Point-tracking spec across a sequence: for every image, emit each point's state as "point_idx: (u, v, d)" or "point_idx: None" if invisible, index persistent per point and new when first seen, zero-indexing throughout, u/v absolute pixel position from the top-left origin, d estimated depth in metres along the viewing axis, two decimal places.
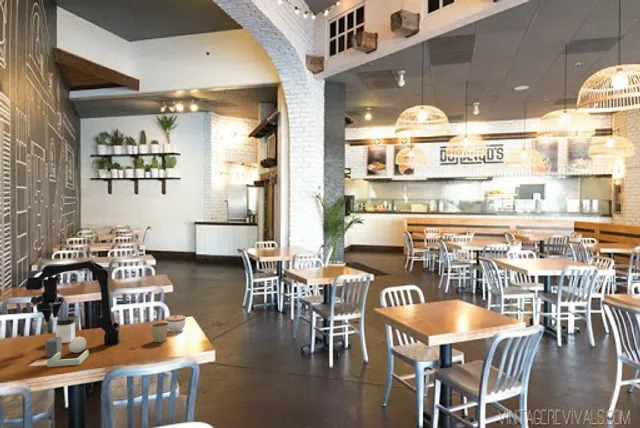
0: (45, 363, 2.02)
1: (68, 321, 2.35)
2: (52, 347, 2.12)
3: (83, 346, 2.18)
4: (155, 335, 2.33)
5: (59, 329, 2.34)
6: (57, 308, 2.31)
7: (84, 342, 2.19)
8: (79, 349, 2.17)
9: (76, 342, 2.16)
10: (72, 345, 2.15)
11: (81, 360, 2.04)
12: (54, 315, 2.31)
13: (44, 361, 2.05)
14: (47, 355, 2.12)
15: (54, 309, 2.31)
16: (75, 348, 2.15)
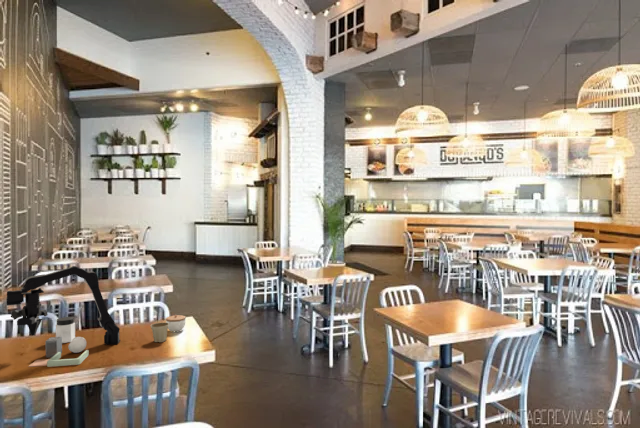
0: (45, 363, 2.02)
1: (68, 321, 2.35)
2: (52, 347, 2.12)
3: (83, 346, 2.18)
4: (155, 335, 2.33)
5: (59, 329, 2.34)
6: None
7: (84, 342, 2.19)
8: (79, 349, 2.17)
9: (76, 342, 2.16)
10: (72, 345, 2.15)
11: (81, 360, 2.04)
12: None
13: (44, 361, 2.05)
14: (47, 355, 2.12)
15: None
16: (75, 348, 2.15)
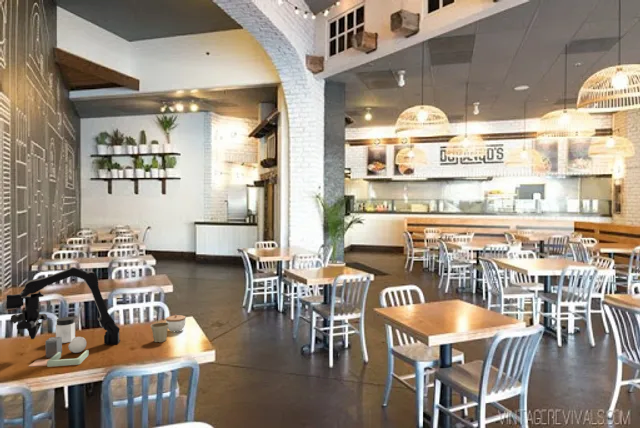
0: (45, 363, 2.02)
1: (68, 321, 2.35)
2: (52, 347, 2.12)
3: (83, 346, 2.18)
4: (155, 335, 2.33)
5: (59, 329, 2.34)
6: None
7: (84, 342, 2.19)
8: (79, 349, 2.17)
9: (76, 342, 2.16)
10: (72, 345, 2.15)
11: (81, 360, 2.04)
12: None
13: (44, 361, 2.05)
14: (47, 355, 2.12)
15: None
16: (75, 348, 2.15)
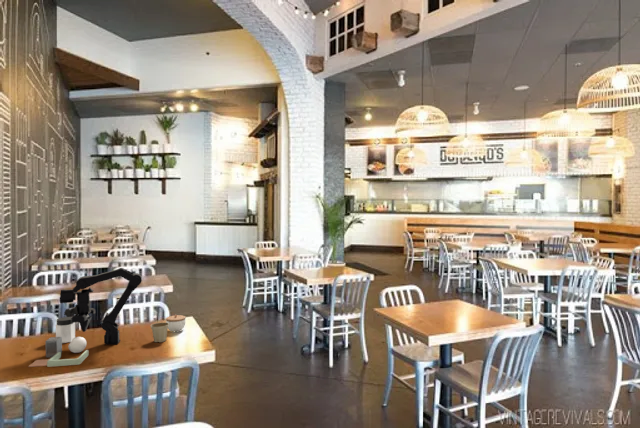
0: (45, 363, 2.02)
1: (68, 321, 2.35)
2: (52, 347, 2.12)
3: (83, 346, 2.18)
4: (155, 335, 2.33)
5: (59, 329, 2.34)
6: None
7: (84, 342, 2.19)
8: (79, 349, 2.17)
9: (76, 342, 2.16)
10: (72, 345, 2.15)
11: (81, 360, 2.04)
12: None
13: (44, 361, 2.05)
14: (47, 355, 2.12)
15: None
16: (75, 348, 2.15)
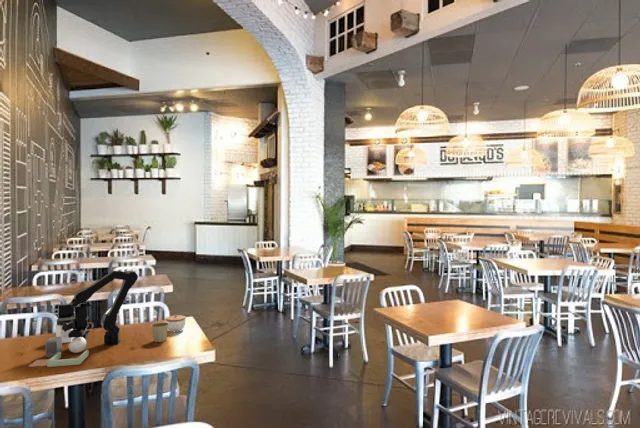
0: (45, 363, 2.02)
1: (68, 321, 2.35)
2: (52, 347, 2.12)
3: (83, 346, 2.18)
4: (155, 335, 2.33)
5: (59, 329, 2.34)
6: None
7: (84, 342, 2.18)
8: (79, 349, 2.16)
9: (76, 342, 2.16)
10: (72, 345, 2.15)
11: (81, 360, 2.04)
12: None
13: (44, 361, 2.05)
14: (47, 355, 2.12)
15: None
16: (75, 348, 2.15)
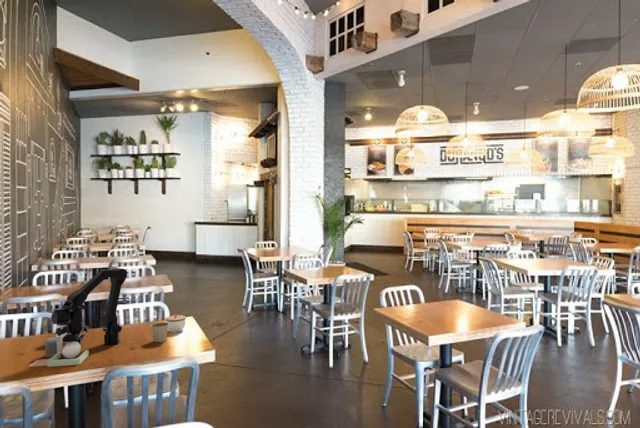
0: (45, 363, 2.02)
1: (68, 321, 2.35)
2: (52, 347, 2.12)
3: (77, 351, 2.10)
4: (155, 335, 2.33)
5: None
6: None
7: (78, 347, 2.11)
8: (73, 354, 2.09)
9: (70, 347, 2.08)
10: (66, 350, 2.07)
11: (81, 360, 2.04)
12: None
13: (44, 361, 2.05)
14: (47, 355, 2.12)
15: None
16: (69, 353, 2.07)
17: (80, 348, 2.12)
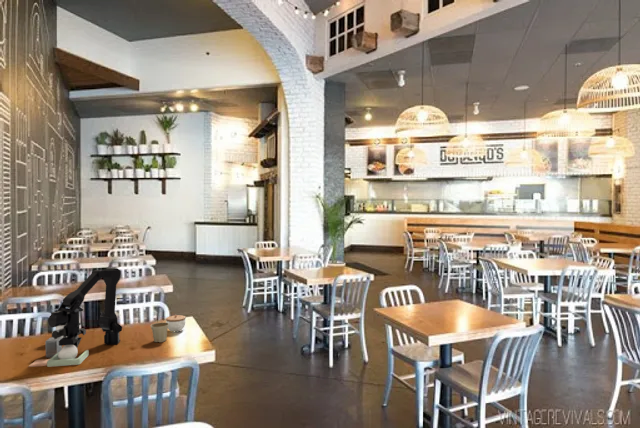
0: (45, 363, 2.02)
1: None
2: (52, 347, 2.12)
3: (74, 354, 2.05)
4: (155, 335, 2.33)
5: None
6: None
7: (75, 350, 2.06)
8: (70, 358, 2.04)
9: (66, 350, 2.03)
10: (62, 353, 2.03)
11: (81, 360, 2.04)
12: None
13: (44, 361, 2.05)
14: (47, 355, 2.12)
15: None
16: (65, 356, 2.03)
17: (77, 351, 2.07)
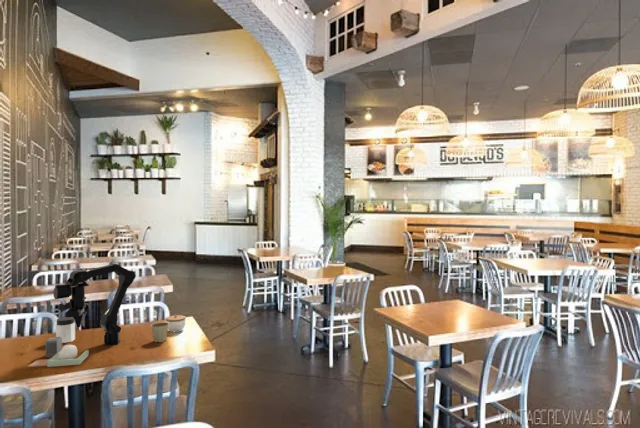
0: (45, 363, 2.02)
1: (68, 321, 2.35)
2: (52, 347, 2.12)
3: (74, 355, 2.05)
4: (155, 335, 2.33)
5: (59, 329, 2.34)
6: None
7: (75, 350, 2.06)
8: (69, 358, 2.04)
9: (66, 350, 2.03)
10: (62, 353, 2.03)
11: (81, 360, 2.04)
12: None
13: (44, 361, 2.05)
14: (47, 355, 2.12)
15: None
16: (65, 356, 2.03)
17: (77, 351, 2.07)
